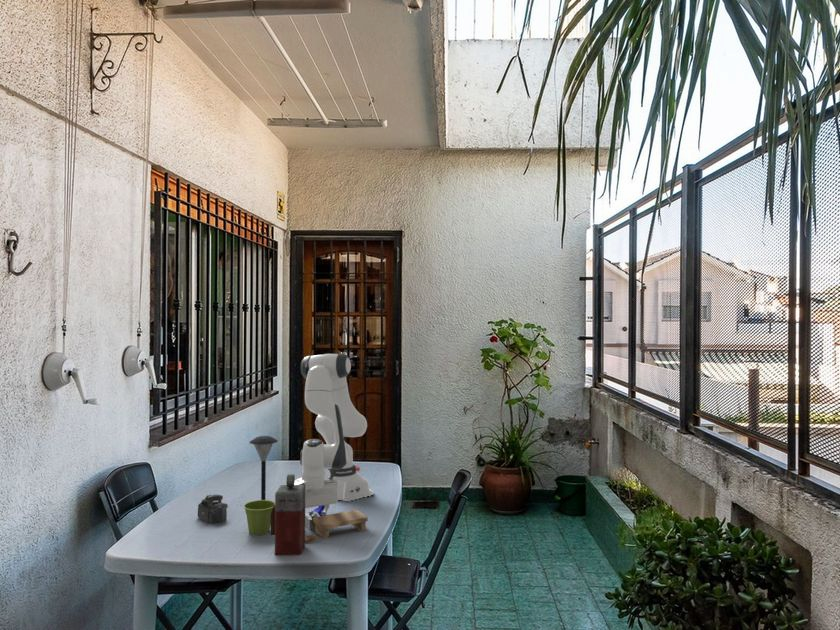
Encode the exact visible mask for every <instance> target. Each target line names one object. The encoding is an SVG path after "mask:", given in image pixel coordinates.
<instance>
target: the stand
mask: <svg viewBox="0 0 840 630" xmlns="http://www.w3.org/2000/svg"><path fill="white" fill-rule="evenodd" d="M313 522H315V529H314V532H316V533H317V534H318V535H319V536H321V537H322V538H324V539H325V538H330V529H334V528H335V529H336V528H339V527H345V526H350V525H351V526H352V525H353V527H354V528H355V527H356V528H355V529H356V530H358V529H359V532H364V530H365V531H367V526H366V524H367V522H368V516H366V515H365V514H364V513H362V512H361V511H359V510H358V509H354V510H353V509H352V510H349V511H348V510H347V511H342V512H337V513H331V514H327V515H324V516H319V517H313Z"/></svg>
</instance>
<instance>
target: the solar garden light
mask: <svg viewBox="0 0 840 630" xmlns="http://www.w3.org/2000/svg"><path fill="white" fill-rule="evenodd" d="M278 442H279V440H278V439H276V438H274V437H273V436H270V435H261V436H256V437H255V438H252V439H251V440H249V442H248V443H249V444H251V445H254V448H255V450H256V452H257V455H258V457H259V459H260V460H261V474H260V475H261V476H260V477H261V479H260V482H261V484H260V485H261V489H260V491H261V492H260V493H261V494H260V495H261V496H260V498H261V499H260V500H266V491H267V490H266V488H267V487H266V485H267V483H266V479H267V477H266V475H267V473H266V469H267V468H266V466H267V465H266V462H267V458H268V456H269V454H270V451H271V449H272V447H273V445H274V444H275V443H278Z"/></svg>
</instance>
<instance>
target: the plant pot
mask: <svg viewBox="0 0 840 630" xmlns="http://www.w3.org/2000/svg"><path fill="white" fill-rule="evenodd" d="M274 504H275V501H274V500H273V501H272V500H267V499H265V500H261V499H258V500H252V501H248V502H246V503H244V504H243V508H244V509H245V511H244V512H245V514H246V521H247V528H248V529H247V530H248V534H249V535H251V536H261V535H266V534H268V533H269V532H270V531H271V511H272V508H273V506H274Z"/></svg>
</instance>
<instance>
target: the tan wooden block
mask: <svg viewBox="0 0 840 630" xmlns="http://www.w3.org/2000/svg"><path fill="white" fill-rule="evenodd" d="M317 541H319V536H318V535H316V534H310V535H305V544H308V543H312V542H317Z"/></svg>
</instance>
